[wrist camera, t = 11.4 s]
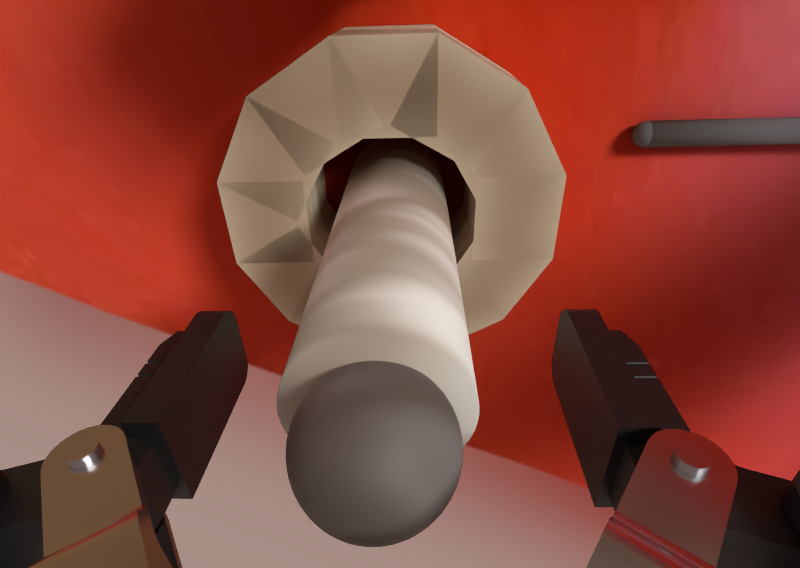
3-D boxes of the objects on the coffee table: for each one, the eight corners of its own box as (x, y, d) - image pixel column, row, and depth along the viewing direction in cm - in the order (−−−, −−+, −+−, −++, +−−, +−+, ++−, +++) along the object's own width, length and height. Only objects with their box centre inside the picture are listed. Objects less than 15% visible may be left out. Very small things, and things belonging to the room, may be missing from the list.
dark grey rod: (865, 112, 18) (887, 118, 17) (852, 138, 19) (873, 145, 18) (630, 118, 19) (641, 124, 18) (625, 143, 19) (635, 151, 18)
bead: (555, 20, 17) (591, 28, 13) (519, 297, 23) (537, 349, 20) (226, 30, 17) (181, 40, 14) (280, 299, 24) (258, 351, 20)
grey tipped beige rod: (443, 135, 19) (511, 447, 6) (441, 224, 21) (489, 597, 8) (346, 137, 19) (208, 448, 6) (354, 226, 21) (264, 594, 8)
